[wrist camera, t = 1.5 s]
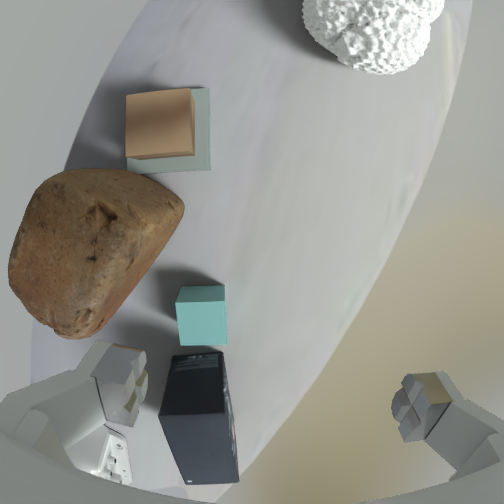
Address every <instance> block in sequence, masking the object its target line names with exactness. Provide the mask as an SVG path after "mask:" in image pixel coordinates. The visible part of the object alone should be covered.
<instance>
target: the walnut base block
mask: <svg viewBox="0 0 504 504" xmlns="http://www.w3.org/2000/svg"><path fill="white" fill-rule="evenodd" d="M184 156H195V101H194V98H193V96H192V93H191V90H190V88H182V89H171V90H161V91H153V92H145V93H137V94H131V95H126V122H125V157H128V158H133V159H137V160H147V159H158V158H170V157H184Z"/></svg>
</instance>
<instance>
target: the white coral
mask: <svg viewBox="0 0 504 504" xmlns="http://www.w3.org/2000/svg"><path fill="white" fill-rule="evenodd" d="M444 3H445V2H444V0H304V3H302V5H303V9H302V12H303V13H304V15H303V16H302V18H303V19H304V23H305V28H306V29H307V30H309V33H310V35H312V37H314V38H315V41H316V42H318V43H319V44H320V45H322V46H323V47H324V48H326V49H327V50H328V51H329V50H330V52H331V53H334V55H336V56H338V58H337V59H338V60H339V61H340V63H342V64H345V65H346V66H349V67H352V69H355V70H358V71H361V70H362V71H364V72H365V73H368V74H376V75H377V74H378V75H382V74H384V75H386V74H389V75H392V74H394V73H396V72H397V73H398V72H400V71H404V70H407V68H408V67H410V66H411V64H416V62H417V60H419V57H420V56H423V55H424V50H425V49H426V47H427V43H428V42H429V41H430V35H429V34H430V30H431V27H430V25H429V23H431V22H434V20H435V19H436V18H437V17H438V16H440V13H441V12H442V8H444Z"/></svg>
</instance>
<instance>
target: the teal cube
mask: <svg viewBox="0 0 504 504" xmlns="http://www.w3.org/2000/svg"><path fill="white" fill-rule="evenodd" d="M175 306H176V314H177V322H178V330H179V337H180V345H181V346H189V345H223V344H227V322H226V304H225V286H224V285H214V286H186V287H181V289H180V291H179V294H178V297H177V299H176V302H175Z"/></svg>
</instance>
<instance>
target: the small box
mask: <svg viewBox="0 0 504 504" xmlns="http://www.w3.org/2000/svg"><path fill="white" fill-rule="evenodd" d="M158 418H159V420H160V423H161V425H162V428H163V431H164V434H165V436H166V439H167V441H168V444H169V447H170V449H171V452H172V454H173V456H174V459H175V461H176V464H177V466H178V468H179V471H180V473H181V475H182V477H183V480H184V482H185V484H186V485H211V484H230V483H239V473H238V461H237V448H236V436H235V426H234V417H233V412H232V405H231V399H230V394H229V388H228V381H227V375H226V369H225V362H224V356H223V352H215V353H205V354H192V355H180V356H172V359H171V366H170V370H169V374H168V378H167V383H166V387H165V392H164V397H163V400H162V404H161V408H160V412H159V415H158Z"/></svg>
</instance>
